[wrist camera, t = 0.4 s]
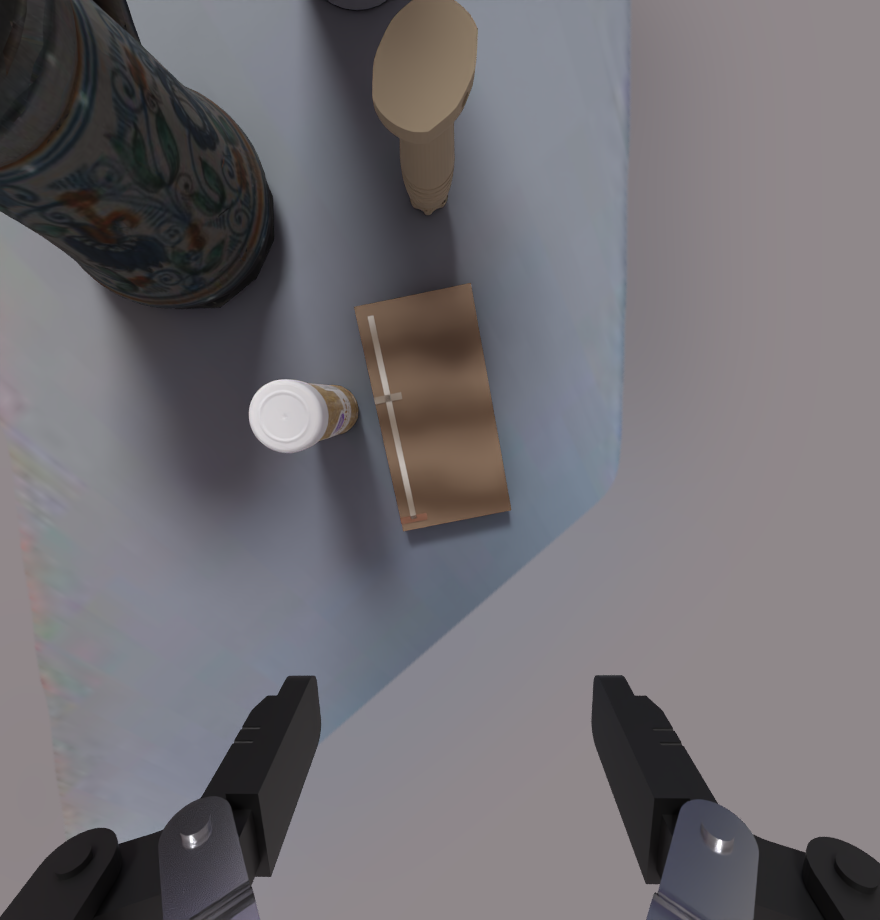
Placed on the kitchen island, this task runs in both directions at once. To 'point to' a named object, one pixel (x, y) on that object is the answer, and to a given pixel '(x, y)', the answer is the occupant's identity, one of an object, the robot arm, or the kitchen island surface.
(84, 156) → the beer stein
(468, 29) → the handle
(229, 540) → the kitchen island surface
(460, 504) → the walnut board
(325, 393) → the sprinkles bottle
